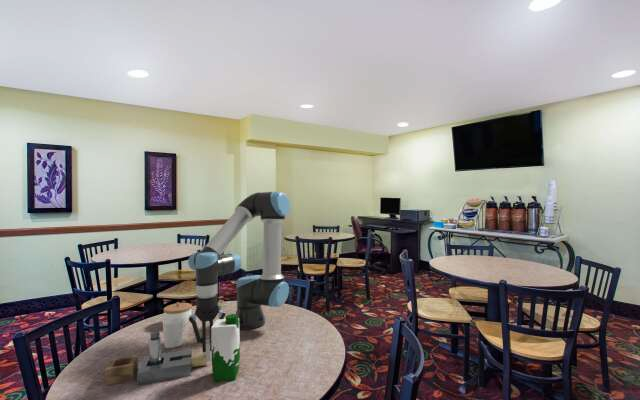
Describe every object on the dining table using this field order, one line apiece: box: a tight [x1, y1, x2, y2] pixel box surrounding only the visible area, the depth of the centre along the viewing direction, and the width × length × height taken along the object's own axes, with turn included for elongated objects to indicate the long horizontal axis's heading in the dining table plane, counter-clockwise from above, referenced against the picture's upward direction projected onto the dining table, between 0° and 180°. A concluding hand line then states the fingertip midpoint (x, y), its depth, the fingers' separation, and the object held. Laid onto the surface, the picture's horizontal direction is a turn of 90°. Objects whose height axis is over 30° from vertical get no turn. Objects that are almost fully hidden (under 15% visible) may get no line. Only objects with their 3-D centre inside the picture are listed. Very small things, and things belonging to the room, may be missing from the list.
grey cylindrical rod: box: [148, 331, 162, 366], centre depth 110 cm, size 4×4×14 cm
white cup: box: [162, 318, 184, 349], centre depth 133 cm, size 8×8×10 cm
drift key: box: [182, 352, 207, 368], centre depth 114 cm, size 8×2×4 cm, turn 109°
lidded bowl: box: [163, 301, 193, 327], centre depth 155 cm, size 13×13×11 cm
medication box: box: [218, 299, 225, 311], centre depth 176 cm, size 12×3×4 cm, turn 10°
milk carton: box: [211, 313, 241, 382], centre depth 108 cm, size 9×9×20 cm
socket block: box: [136, 348, 193, 386], centre depth 111 cm, size 16×12×4 cm
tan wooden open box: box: [104, 354, 139, 386], centre depth 109 cm, size 8×8×5 cm
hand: (208, 359), depth 116 cm, fingers closed
